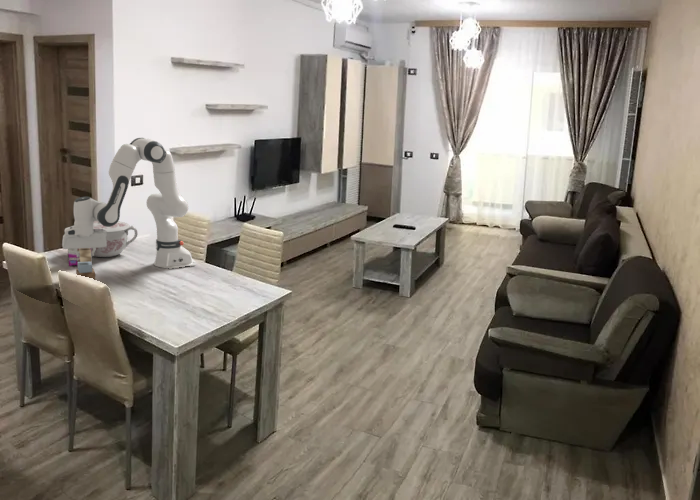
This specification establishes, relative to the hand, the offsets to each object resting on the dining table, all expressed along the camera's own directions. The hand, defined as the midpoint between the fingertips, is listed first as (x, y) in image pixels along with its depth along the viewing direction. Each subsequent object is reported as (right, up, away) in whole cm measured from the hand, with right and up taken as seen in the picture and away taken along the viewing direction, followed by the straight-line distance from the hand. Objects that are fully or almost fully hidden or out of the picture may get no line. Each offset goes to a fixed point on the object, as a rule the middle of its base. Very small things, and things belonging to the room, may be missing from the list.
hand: (85, 256), depth 305 cm
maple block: (0, -2, +1) cm, 2 cm away
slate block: (-1, -7, +2) cm, 8 cm away
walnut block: (-1, -11, +3) cm, 12 cm away
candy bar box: (-12, -5, +22) cm, 26 cm away
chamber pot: (-7, 0, +44) cm, 44 cm away
